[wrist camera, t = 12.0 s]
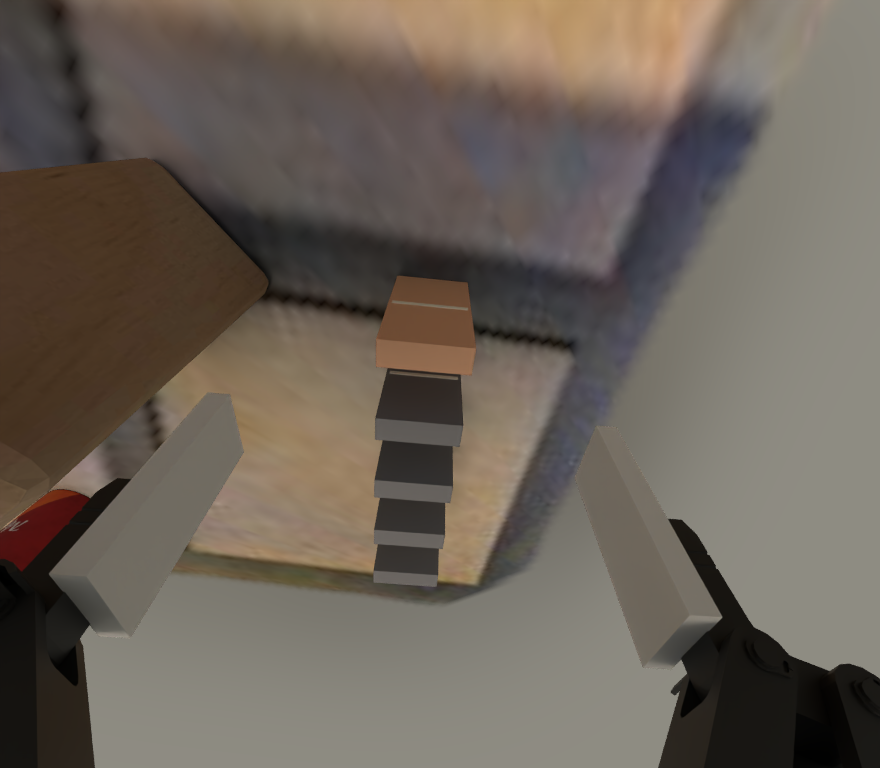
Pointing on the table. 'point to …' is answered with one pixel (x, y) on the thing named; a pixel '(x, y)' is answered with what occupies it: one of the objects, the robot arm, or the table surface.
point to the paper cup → (38, 526)
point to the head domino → (427, 327)
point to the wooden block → (100, 307)
